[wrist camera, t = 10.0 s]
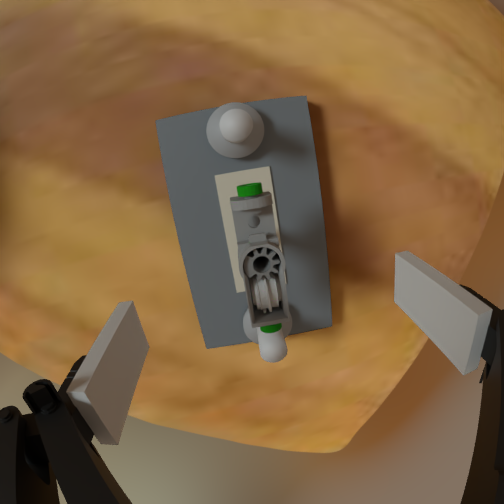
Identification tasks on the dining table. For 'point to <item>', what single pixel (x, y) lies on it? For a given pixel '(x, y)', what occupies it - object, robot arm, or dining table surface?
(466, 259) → the dining table surface
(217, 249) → the gear board
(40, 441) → the robot arm
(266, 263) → the mechanical component
